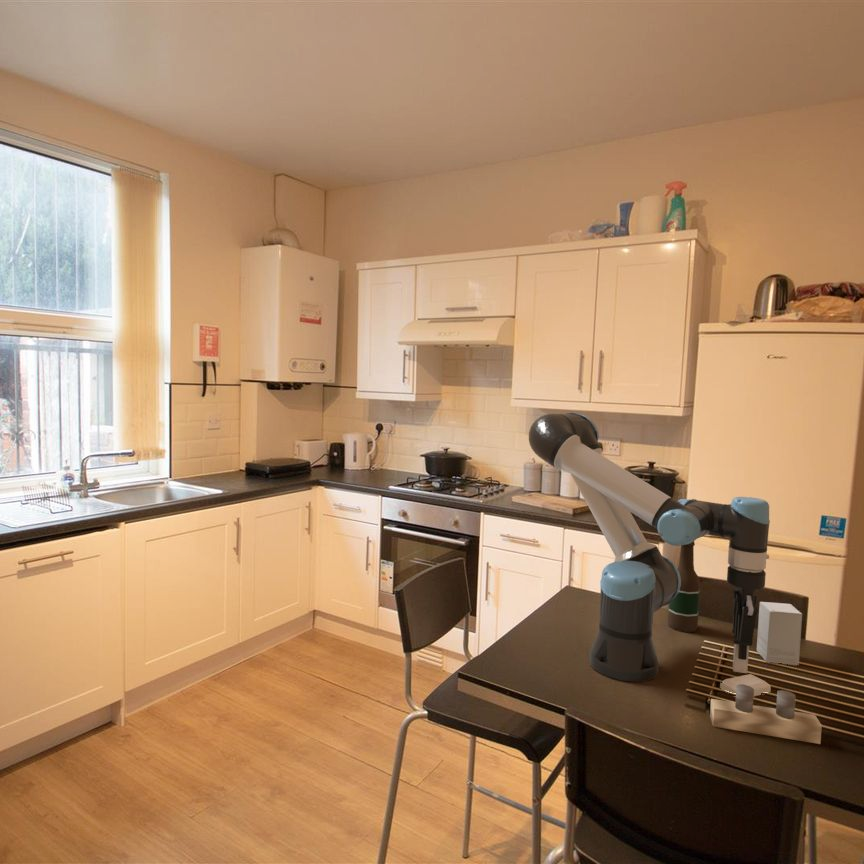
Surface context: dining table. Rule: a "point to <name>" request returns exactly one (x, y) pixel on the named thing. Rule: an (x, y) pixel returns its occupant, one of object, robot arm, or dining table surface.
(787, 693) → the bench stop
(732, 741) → the dining table surface
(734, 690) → the soap bar
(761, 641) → the supplement box
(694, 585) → the beer bottle
